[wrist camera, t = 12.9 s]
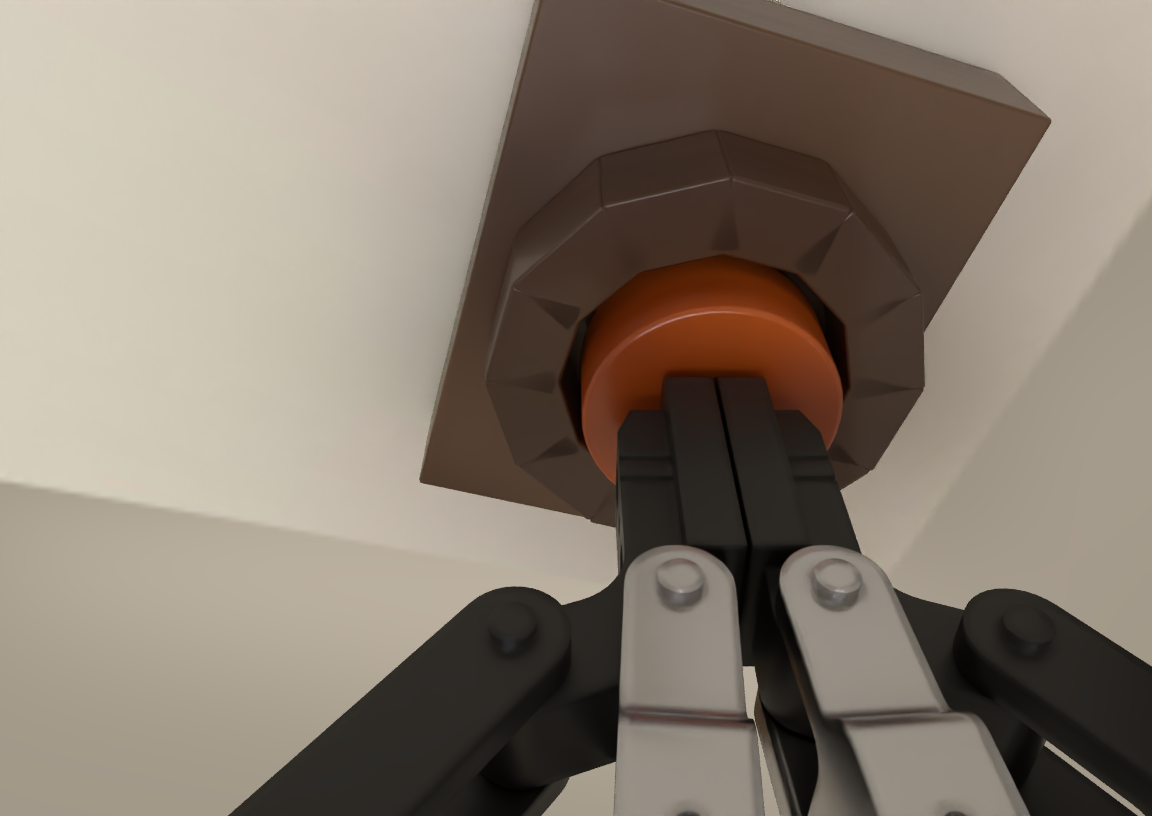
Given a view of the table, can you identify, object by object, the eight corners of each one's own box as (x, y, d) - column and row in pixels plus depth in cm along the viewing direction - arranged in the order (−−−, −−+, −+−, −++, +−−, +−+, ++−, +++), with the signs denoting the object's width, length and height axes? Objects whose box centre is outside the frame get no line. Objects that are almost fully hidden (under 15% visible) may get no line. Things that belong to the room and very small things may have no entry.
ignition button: (762, 468, 17) (780, 536, 16) (553, 421, 17) (551, 488, 15) (862, 285, 15) (892, 346, 13) (623, 221, 14) (628, 278, 13)
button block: (769, 491, 22) (803, 626, 19) (431, 416, 20) (405, 548, 17) (1002, 74, 16) (1108, 166, 13) (551, -69, 15) (545, -6, 11)
